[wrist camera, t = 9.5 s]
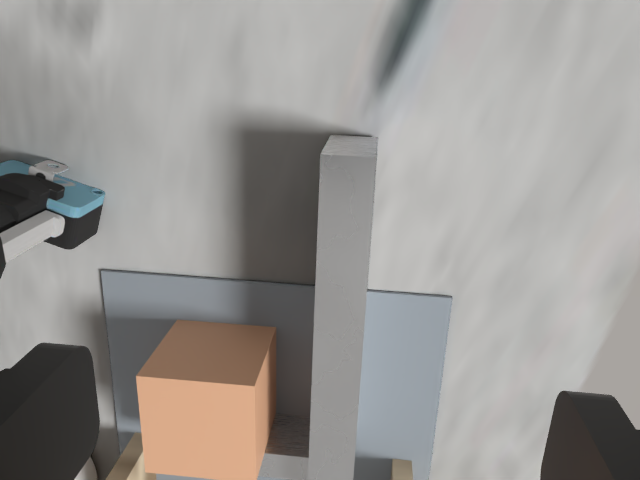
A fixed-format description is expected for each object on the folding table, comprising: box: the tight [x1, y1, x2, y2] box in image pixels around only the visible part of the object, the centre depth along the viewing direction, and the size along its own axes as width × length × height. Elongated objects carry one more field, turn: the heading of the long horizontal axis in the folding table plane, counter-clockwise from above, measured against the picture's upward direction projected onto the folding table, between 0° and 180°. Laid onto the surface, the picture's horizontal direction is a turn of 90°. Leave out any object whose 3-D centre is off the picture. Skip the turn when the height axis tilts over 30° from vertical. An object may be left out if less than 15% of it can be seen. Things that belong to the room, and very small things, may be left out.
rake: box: [258, 135, 378, 480], centre depth 25 cm, size 16×10×4 cm, turn 178°
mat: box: [101, 270, 452, 480], centre depth 30 cm, size 20×17×1 cm
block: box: [136, 320, 276, 480], centre depth 26 cm, size 5×5×5 cm
